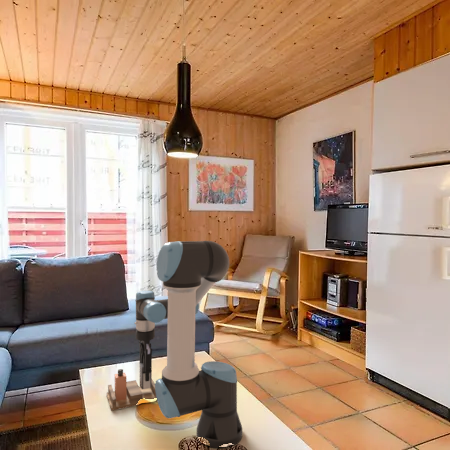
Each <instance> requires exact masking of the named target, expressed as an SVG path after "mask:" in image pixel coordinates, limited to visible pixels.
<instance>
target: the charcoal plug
mask: <svg viewBox="0 0 450 450" xmlns="http://www.w3.org/2000/svg"><path fill="white" fill-rule="evenodd" d="M142 372H144V362H143V363H141V364H139V387H141V389H143V374H142ZM152 376H153V375H152V372H151V373H150V388H152V380H153V377H152Z"/></svg>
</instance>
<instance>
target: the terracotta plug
mask: <svg viewBox="0 0 450 450" xmlns="http://www.w3.org/2000/svg"><path fill="white" fill-rule="evenodd" d="M126 382H127V375H126V372H124V369H122V368H121V369H117V373H115V374H114V391H115V397H116V401H118V400H123V399H127V397H126Z"/></svg>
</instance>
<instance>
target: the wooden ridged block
mask: <svg viewBox="0 0 450 450" xmlns="http://www.w3.org/2000/svg"><path fill="white" fill-rule="evenodd" d="M155 383H156V382H154V379H152V388H148V389H141V387H140V385H139V384H138V382H137V380H129V381H126V397H127V399H123V400H118V401H116V397H115V390H114V388H113V386H112V384H108V385H107V388H108V389H107V391H108V392H106V398H107V401H108V405H109V407H110V411H116V410H121V409H126V408H132V407H134V406H137V405H136V404H137V403H138V401H139V400H140V399H143V398H145V399H154V398H157V397H156V392H155Z"/></svg>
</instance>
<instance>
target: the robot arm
mask: <svg viewBox="0 0 450 450" xmlns="http://www.w3.org/2000/svg"><path fill="white" fill-rule="evenodd" d="M229 269H230V257H229V254H228V252H227V250H225V248H224V247H223V246H222V245H221V244H219V242H218V243H217V242H215V241H213V240H196V241H193V240H191V241H190V240H189V241H188V240H186V241H184V240H183V241H180V240H179V241H178V240H177V241H168V242H166V243H164V244H163V245H162V246H161V248H160V250H159V252H158V255H157V260H156V271H157V272H156V276H157V278H158V280H159V281H161V282H163V283H162V286H163V287H164V288H165V289H166V290H167V298H164V299H155V298H156V296H155V292H154V291H152V290H140V291H137V292H136V294H135V321H134V325H135V329H136V330H135V339H136V340H137V341H138V343H139V365H140V364H141V363H143V362H144V372H142V374H143V389H148V388H150V373H151V372H152V369H153V368H152V363H153V361H152V360H153V359H152V358H153V357H152V355H153V349H152V343H151V341H152V340H154V339H155V338H156V337H155V334H156V332H155V331H156V330H155V324H157V323H161V322H162V321H163V320H167V328H166V329H167V332H166V333H167V335H166V337H167V338H166V339H167V343H166V344H167V345H166V353H167V354H166V365H165V367H163V369H162V370H161V378H158V379H156V380H155V382H154V383H155V392H156V397H157V401H156V402H157V404H158V407H159V410H160V412H161V414H162V415H163V416H164V417H165V418H166V419H173V418H180V417H181V416H185V415H188V414H193V413H196V412H200V411H201V414H200V417H199V420H198V423H197V427H196V437H197V436H198V437H203V438H205V439H207V440H208V441H209V443H210V447H209V448H214V449H219V448H218V447H219V446H221V445H223V444H228V443H232V444H235V445H236V444H238V443H239V442H241V440H242V438H243V426H242V422H241V420H240V416H239V414H238V408H237V407H238V405H237V403H238V399H237V397H238V390H237V389H238V387H237V386H238V385H237V383H238V376H237V370H236V368H235V367H234V366H233V365H231V364H230V363H227V362H223V361H215V360H214V361H211V360H210V361H205V362H203V363H202V364H201V367H200V369H201V370H200V369H199V367H196V366H195V363H196V362H195V361H196V359H195V357H196V356H195V353H196V352H195V351H196V349H195V348H196V315H197V314H198V312H199V309H200V301H201V300H202V299H203V298H204V297H205V295H207V293H208V292H209V291H210V290H211V288H212V287H213V286H214V285H215V283H218V282H220V281H221V280H223V278H224V277H225V276H226V275H227V274H228V271H229Z"/></svg>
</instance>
